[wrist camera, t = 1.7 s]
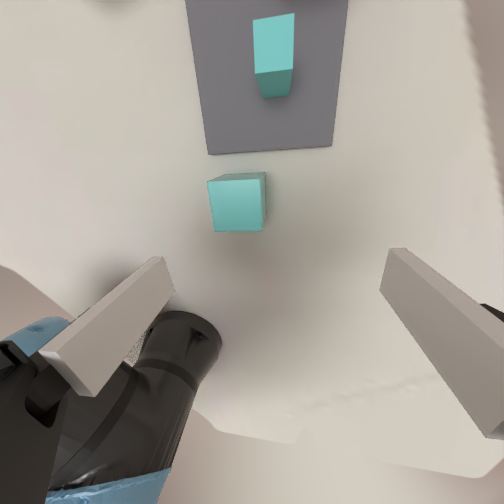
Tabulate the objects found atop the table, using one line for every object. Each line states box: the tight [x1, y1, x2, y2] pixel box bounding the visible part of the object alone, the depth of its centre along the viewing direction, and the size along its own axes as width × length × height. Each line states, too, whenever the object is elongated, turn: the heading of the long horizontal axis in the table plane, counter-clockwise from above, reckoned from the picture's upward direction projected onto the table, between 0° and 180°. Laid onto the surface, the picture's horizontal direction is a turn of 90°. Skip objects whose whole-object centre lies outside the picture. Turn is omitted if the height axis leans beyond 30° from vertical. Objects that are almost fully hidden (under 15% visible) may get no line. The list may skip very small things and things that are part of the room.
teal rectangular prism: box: [207, 172, 266, 232], centre depth 22 cm, size 5×5×7 cm
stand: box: [185, 0, 348, 154], centre depth 15 cm, size 14×18×9 cm
